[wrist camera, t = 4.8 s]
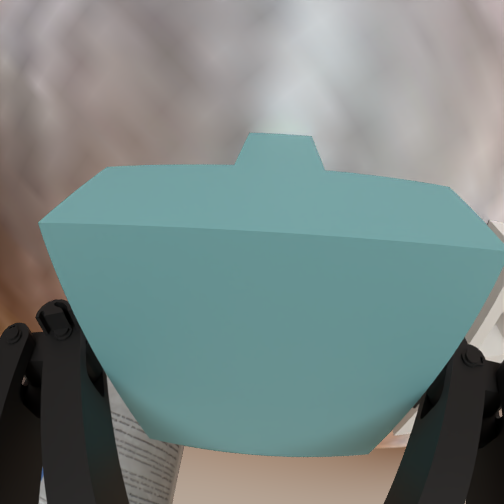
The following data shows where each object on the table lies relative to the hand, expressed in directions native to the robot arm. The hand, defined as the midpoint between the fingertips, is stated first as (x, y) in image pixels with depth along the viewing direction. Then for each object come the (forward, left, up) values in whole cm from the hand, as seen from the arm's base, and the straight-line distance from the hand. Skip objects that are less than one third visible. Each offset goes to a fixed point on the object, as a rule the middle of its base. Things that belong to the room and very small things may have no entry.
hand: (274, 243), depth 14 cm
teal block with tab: (0, 0, 0) cm, 0 cm away
